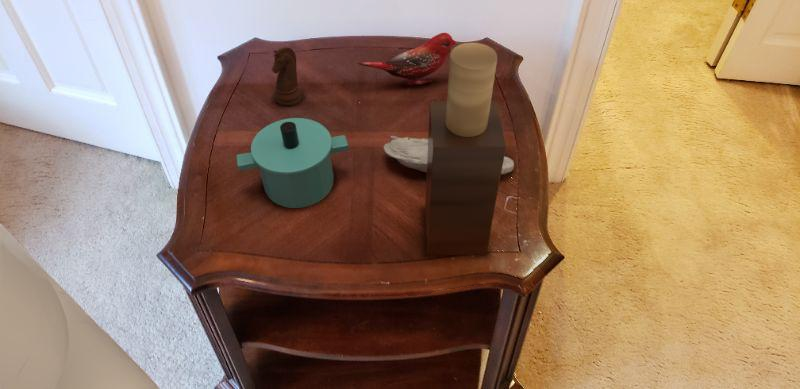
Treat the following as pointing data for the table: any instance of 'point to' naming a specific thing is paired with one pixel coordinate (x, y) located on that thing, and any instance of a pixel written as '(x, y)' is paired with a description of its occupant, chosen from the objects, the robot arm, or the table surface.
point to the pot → (297, 179)
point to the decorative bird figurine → (417, 60)
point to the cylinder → (470, 88)
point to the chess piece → (286, 77)
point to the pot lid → (291, 146)
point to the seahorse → (421, 153)
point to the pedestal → (461, 184)
